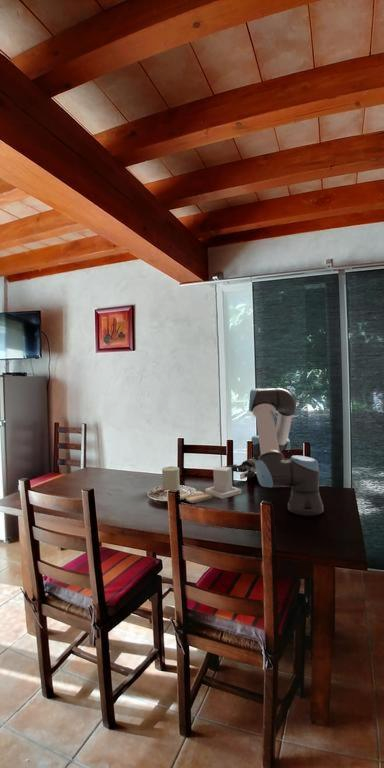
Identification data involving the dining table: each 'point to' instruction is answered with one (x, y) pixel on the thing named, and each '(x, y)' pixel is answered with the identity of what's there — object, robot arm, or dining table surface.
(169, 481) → the can
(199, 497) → the pad
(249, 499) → the dining table surface
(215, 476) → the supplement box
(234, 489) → the white flat square frame
